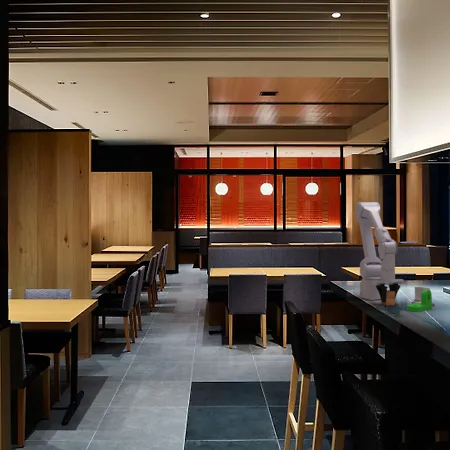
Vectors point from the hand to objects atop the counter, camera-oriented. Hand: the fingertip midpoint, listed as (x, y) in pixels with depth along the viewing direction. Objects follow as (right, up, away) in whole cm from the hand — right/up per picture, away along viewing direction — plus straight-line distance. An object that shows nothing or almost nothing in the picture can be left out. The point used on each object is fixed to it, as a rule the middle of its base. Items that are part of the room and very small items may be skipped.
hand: (388, 301), depth 216 cm
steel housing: (+17, -1, +7) cm, 19 cm away
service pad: (+14, -1, -1) cm, 15 cm away
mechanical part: (+9, -2, -11) cm, 14 cm away
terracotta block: (0, -1, 0) cm, 1 cm away
